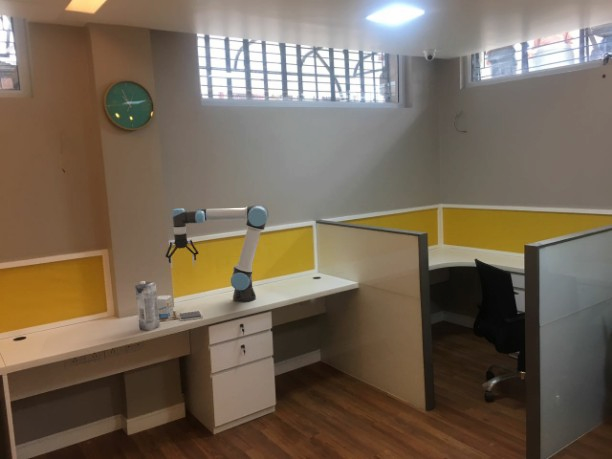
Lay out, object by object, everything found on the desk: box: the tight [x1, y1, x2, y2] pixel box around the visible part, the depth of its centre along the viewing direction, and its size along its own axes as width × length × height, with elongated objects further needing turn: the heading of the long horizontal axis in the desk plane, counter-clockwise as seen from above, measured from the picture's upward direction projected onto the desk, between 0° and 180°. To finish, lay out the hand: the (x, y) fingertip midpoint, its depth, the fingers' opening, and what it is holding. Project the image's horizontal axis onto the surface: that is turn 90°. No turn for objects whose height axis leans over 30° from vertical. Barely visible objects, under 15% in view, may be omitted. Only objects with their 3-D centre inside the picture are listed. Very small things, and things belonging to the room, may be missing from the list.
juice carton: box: [134, 280, 160, 332], centre depth 300 cm, size 9×10×27 cm
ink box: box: [157, 294, 174, 318], centre depth 320 cm, size 9×8×12 cm
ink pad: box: [177, 310, 203, 322], centre depth 320 cm, size 13×12×1 cm
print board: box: [159, 310, 180, 323], centre depth 321 cm, size 16×15×1 cm
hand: (183, 266), depth 336 cm, fingers open, 13 cm apart
